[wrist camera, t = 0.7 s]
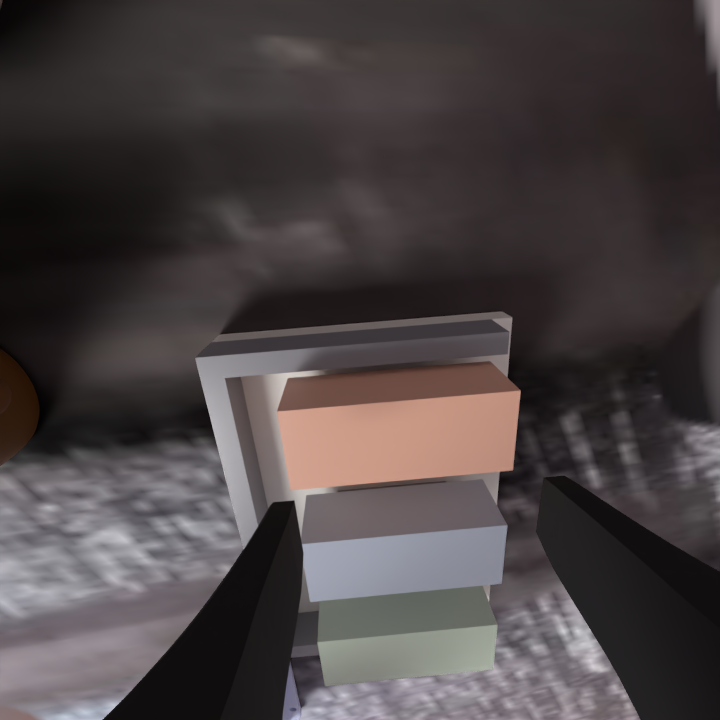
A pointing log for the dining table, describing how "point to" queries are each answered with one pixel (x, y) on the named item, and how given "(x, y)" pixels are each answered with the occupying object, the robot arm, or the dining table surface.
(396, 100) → the dining table surface
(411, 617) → the key sage
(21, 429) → the mug
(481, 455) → the key terracotta
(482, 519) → the key slate
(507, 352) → the keypad
